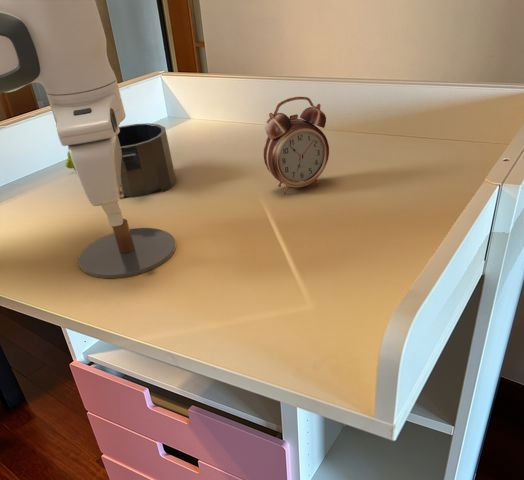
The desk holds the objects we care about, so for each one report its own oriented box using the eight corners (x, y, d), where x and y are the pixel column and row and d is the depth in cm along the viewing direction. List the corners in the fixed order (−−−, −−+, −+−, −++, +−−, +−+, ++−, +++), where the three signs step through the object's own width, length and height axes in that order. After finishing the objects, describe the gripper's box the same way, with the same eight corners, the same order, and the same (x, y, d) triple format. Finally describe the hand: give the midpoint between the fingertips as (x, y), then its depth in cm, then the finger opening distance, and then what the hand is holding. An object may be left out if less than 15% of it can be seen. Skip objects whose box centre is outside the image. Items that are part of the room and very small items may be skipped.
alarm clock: (276, 199, 96) (267, 107, 87) (265, 190, 100) (256, 101, 91) (333, 184, 99) (330, 93, 89) (320, 175, 102) (316, 87, 93)
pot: (103, 211, 100) (87, 158, 94) (107, 174, 115) (94, 126, 109) (178, 198, 101) (167, 145, 95) (173, 163, 116) (163, 115, 110)
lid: (76, 290, 79) (63, 254, 75) (84, 244, 90) (73, 210, 87) (179, 271, 80) (171, 234, 76) (174, 228, 91) (166, 194, 88)
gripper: (71, 94, 80) (99, 187, 89) (55, 136, 64) (91, 245, 72) (115, 87, 81) (139, 180, 89) (110, 127, 64) (140, 236, 73)
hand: (118, 210), depth 81 cm, fingers open, 8 cm apart
